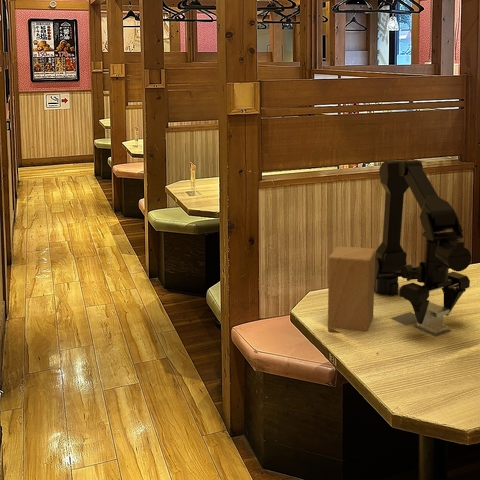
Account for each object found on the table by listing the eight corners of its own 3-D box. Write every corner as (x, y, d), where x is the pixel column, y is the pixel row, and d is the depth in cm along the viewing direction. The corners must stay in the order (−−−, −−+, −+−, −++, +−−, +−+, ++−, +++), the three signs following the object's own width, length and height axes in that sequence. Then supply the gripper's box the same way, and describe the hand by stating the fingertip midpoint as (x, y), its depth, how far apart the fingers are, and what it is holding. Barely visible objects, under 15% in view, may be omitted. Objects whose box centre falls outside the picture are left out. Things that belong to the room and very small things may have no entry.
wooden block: (373, 321, 173) (375, 248, 168) (367, 337, 164) (369, 259, 159) (335, 317, 176) (336, 245, 171) (327, 332, 167) (328, 256, 162)
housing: (429, 322, 168) (430, 302, 166) (448, 330, 163) (449, 309, 162) (416, 326, 166) (417, 306, 164) (435, 334, 161) (436, 313, 159)
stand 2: (412, 332, 166) (413, 326, 166) (429, 326, 169) (429, 321, 169) (435, 342, 160) (435, 336, 160) (451, 336, 163) (452, 330, 163)
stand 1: (389, 323, 172) (390, 318, 171) (410, 317, 175) (410, 312, 175) (406, 331, 167) (406, 325, 167) (426, 324, 171) (427, 318, 170)
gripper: (437, 244, 171) (434, 301, 175) (384, 257, 161) (382, 317, 165) (473, 254, 161) (468, 314, 166) (419, 269, 152) (415, 332, 156)
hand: (433, 319), depth 163 cm, fingers open, 9 cm apart
